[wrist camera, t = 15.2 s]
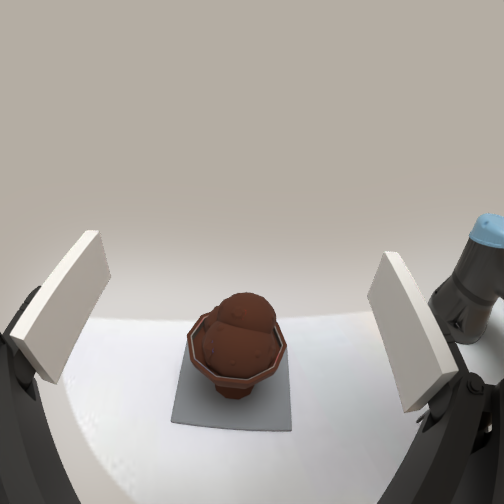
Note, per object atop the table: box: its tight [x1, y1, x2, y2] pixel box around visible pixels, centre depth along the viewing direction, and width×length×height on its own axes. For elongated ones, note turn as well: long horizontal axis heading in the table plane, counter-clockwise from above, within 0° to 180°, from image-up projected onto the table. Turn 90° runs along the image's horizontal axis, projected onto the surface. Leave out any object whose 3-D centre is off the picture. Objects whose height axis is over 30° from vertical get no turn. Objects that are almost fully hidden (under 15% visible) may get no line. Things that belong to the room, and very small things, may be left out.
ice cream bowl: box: [187, 292, 287, 400], centre depth 32 cm, size 11×11×15 cm
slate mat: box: [171, 341, 292, 431], centre depth 36 cm, size 15×14×1 cm
